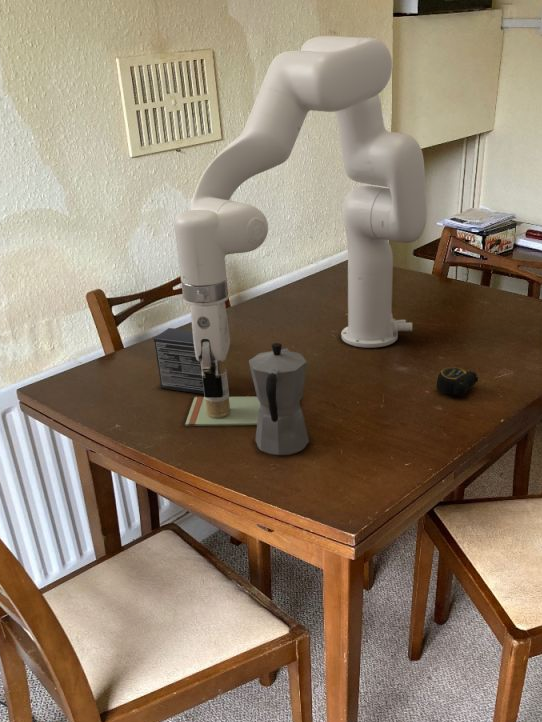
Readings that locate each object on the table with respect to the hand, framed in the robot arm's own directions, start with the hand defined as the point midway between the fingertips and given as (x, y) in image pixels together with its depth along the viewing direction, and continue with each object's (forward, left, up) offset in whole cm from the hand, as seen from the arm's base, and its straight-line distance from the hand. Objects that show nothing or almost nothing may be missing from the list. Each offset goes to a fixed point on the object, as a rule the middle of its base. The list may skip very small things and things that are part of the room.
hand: (215, 389), depth 138 cm
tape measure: (-45, -9, -5) cm, 46 cm away
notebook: (-5, -2, -5) cm, 7 cm away
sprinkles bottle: (0, 0, -5) cm, 5 cm away
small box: (+7, -13, -5) cm, 16 cm away
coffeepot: (-12, +12, -5) cm, 18 cm away
